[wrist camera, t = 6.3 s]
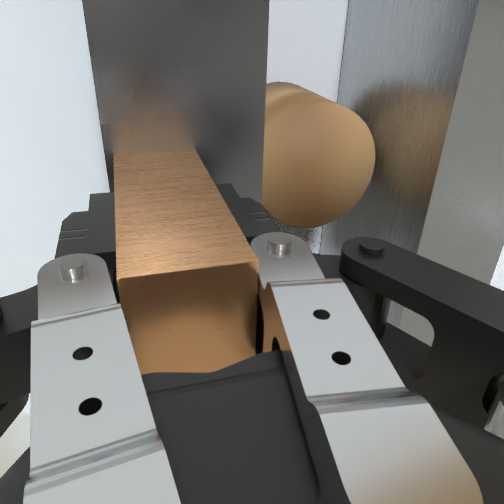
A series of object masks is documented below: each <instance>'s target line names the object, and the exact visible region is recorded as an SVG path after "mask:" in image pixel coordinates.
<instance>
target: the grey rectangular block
mask: <svg viewBox="0 0 504 504" xmlns="http://www.w3.org/2000/svg"><path fill="white" fill-rule="evenodd" d="M337 104H339V105H341V106H343V107H346V108H348V109H350V110H351V111H353V112H355V113H356V114H357V115H358V116H360V117H361V119H362V120H363V121H364V122H365V123H366V125H367V126H368V128H369V130H370V132H371V134H372V137H373V141H374V146H375V166H374V170H373V174H372V177H371V180H370V183H369V185H368V187H367V189H366V190H365V192H364V194H363V195H362V197H361V198H360V199H359V201H358V202H357V203H356V204H355V205H354V206H353V207H352V208H351V209H350V210H349V211H348V212H347V213H345V214H344V215H343V216H341V217H340V218H338V219H336V220H334V221H333V222H330V223H328V224H325V225H323V230H322V238H321V247H320V254H325V255H341V250H342V245H343V243H344V242H345V241H347V240H349V239H351V238H356V237H372V238H377V239H381V240H384V241H387V242H389V243H392V244H394V245H396V246H399V247H401V248H404V249H406V250H408V251H411V252H413V253H415V254H418V255H420V256H422V257H425V258H427V259H429V260H432V261H434V262H437V263H439V264H441V265H444V266H446V267H448V268H451V269H453V270H455V271H458V272H460V273H462V274H465V275H467V276H470V277H472V278H474V279H477V280H479V281H481V282H484V283H486V284H488V285H489V284H490V282H491V279H492V276H493V273H494V270H495V267H496V265H497V262H498V259H499V256H500V253H501V250H502V248H503V245H504V0H349V6H348V15H347V23H346V32H345V41H344V49H343V58H342V66H341V75H340V84H339V92H338V101H337ZM387 322H388V323H390V324H392V325H393V326H395V327H397V328H399V329H401V330H402V331H404V332H406V333H408V334H409V335H411V336H413V337H415V338H417V339H418V340H420V341H422V342H424V343H426V344H427V345H429V346H432V343H433V339H434V330H433V327H432V325H431V324H430V322H429V321H428V320H427V319H426V318H424V317H423V316H421V315H419V314H417V313H415V312H414V311H412V310H410V309H408V308H406V307H404V306H402V305H400V304H398V303H396V302H394V301H392V300H391V305H390V309H389V314H388V318H387Z"/></svg>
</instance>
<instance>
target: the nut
mask: <svg viewBox="0 0 504 504" xmlns="http://www.w3.org/2000/svg"><path fill="white" fill-rule="evenodd" d="M374 166H375V146H374V141H373V137H372V134H371V132H370V130H369V128H368V126H367V125H366V123H365V122H364V121H363V120H362V119H361V117H360V116H358V115H357V114H356V113H355V112H353V111H351V110H350V109H348V108H346V107H343V106H341V105H339V104H337V103H335V102H333V101H330V100H328V99H326V98H324V97H322V96H320V95H317V94H315V93H313V92H311V91H309V90H306V89H304V88H302V87H300V86H298V85H295V84H292V83H287V82H273V83H268V84H266V100H265V127H264V153H263V179H262V205H263V206H264V207H265V209H266V210H267V211H268V212H269V213H270V214H271V215H272V216H273V217H274V218H275V219H277V220H278V221H280V222H282V223H284V224H286V225H289V226H292V227H297V228H313V227H319V226H322V225H325V224H328V223H330V222H333V221H334V220H336V219H338V218H340V217H341V216H343V215H344V214H345V213H347V212H348V211H349V210H350V209H351V208H352V207H353V206H354V205H355V204H356V203H357V202H358V201H359V199H360V198H361V197H362V195H363V194H364V192H365V190H366V189H367V187H368V185H369V183H370V180H371V177H372V174H373V170H374Z"/></svg>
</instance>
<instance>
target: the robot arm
mask: <svg viewBox="0 0 504 504" xmlns="http://www.w3.org/2000/svg"><path fill="white" fill-rule="evenodd" d="M215 185H216V187H217V189H218V190H219V192H220V194H221V196H222V197H223V199H224V201H225V203H226V204H227V206H228V208H229V210H230V211H231V213H232V215H233V217H234V219H235V220H236V222H237V224H238V226H239V227H240V229H241V231H242V233H243V234H244V236H245V238H246V240H247V241H248V243H249V245H250V247H251V248H252V250H253V252H254V254H255V255H256V257H257V259H258V261H259V269H258V296H257V323H256V350H255V356H252V357H250V358H247V359H245V360H243V361H240V362H238V363H235V364H233V365H230V366H228V367H225V368H223V369H220V370H218V371H215V372H209V373H186V372H153V373H148V374H142V375H141V374H140V370H139V367H138V363H137V360H136V356H135V353H134V349H133V346H132V343H131V339H130V336H129V332H128V329H127V325H126V322H125V318H124V315H123V311H122V308H121V303H120V297H119V290H118V284H117V270H116V231H115V193H114V192H109V193H97V194H90V201H89V211H84V212H73V213H71V214H70V215H69V216H68V217H67V218H66V219H64V220H63V221H62V226H61V232H60V235H59V240H58V245H57V250H56V255H55V259H54V260H51V261H49V262H48V263H46V264H45V265H44V266H42V267H41V269H40V270H39V272H38V275H37V280H38V284H37V285H36V286H34V287H32V288H29V289H27V290H24V291H21V292H18V293H15V294H11V295H8V296H5V297H1V298H0V437H1V436H2V435H3V434H4V432H5V431H6V430H7V428H8V427H9V426H10V425H11V423H12V422H13V421H14V419H15V418H16V417H17V416H18V415H19V413H20V412H21V411H22V410H23V408H24V407H25V405H26V403H27V401H28V397H29V393H31V409H30V421H31V422H30V427H31V428H30V447H29V448H28V449H27V450H26V451H25V452H24V453H23V454H22V456H21V457H20V458H19V459H18V460H17V461H16V462H15V463H14V464H13V465H12V466H11V467H10V468H9V470H8V471H7V472H6V473H5V474H4V475H3V476H2V477H1V478H0V504H504V291H502V290H500V289H498V288H495V287H493V286H491V285H488V284H486V283H484V282H481V281H479V280H477V279H474V278H472V277H470V276H467V275H465V274H462V273H460V272H458V271H455V270H453V269H451V268H448V267H446V266H444V265H441V264H439V263H437V262H434V261H432V260H429V259H427V258H425V257H422V256H420V255H418V254H415V253H413V252H411V251H408V250H406V249H404V248H401V247H399V246H396V245H394V244H392V243H389V242H387V241H384V240H381V239H377V238H372V237H356V238H351V239H349V240H347V241H345V242H344V243H343V245H342V250H341V255H325V254H315V253H312V252H311V250H310V248H309V246H308V244H307V243H306V241H304V240H303V239H302V238H300V237H298V236H296V235H293V234H289V233H283V232H281V230H280V229H279V228H278V226H277V225H276V224H275V222H274V221H273V220H272V219H271V217H270V215H269V214H268V213H266V210H265V209H264V207H263V206H262V205H261V203H259V202H257V201H255V200H253V199H251V198H249V197H246V198H240V197H239V195H238V194H237V192H236V191H235V189H234V188H233V186H232V184H231V183H226V184H215ZM391 300H392V301H394V302H396V303H398V304H400V305H402V306H404V307H406V308H408V309H410V310H412V311H414V312H415V313H417V314H419V315H421V316H423V317H424V318H426V319H427V320H428V321H429V322H430V324H431V325H432V327H433V330H434V339H433V343H432V346H429V345H427V344H426V343H424V342H422V341H420V340H418V339H417V338H415V337H413V336H411V335H409V334H408V333H406V332H404V331H402V330H401V329H399V328H397V327H395V326H393V325H392V324H390V323H388V322H387V318H388V314H389V309H390V305H391Z"/></svg>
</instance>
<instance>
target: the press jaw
mask: <svg viewBox="0 0 504 504" xmlns="http://www.w3.org/2000/svg"><path fill="white" fill-rule="evenodd" d="M82 3H83V9H84V16H85V23H86V30H87V37H88V44H89V51H90V57H91V64H92V71H93V78H94V85H95V92H96V98H97V105H98V112H99V119H100V126H101V133H102V139H103V146H104V153H105V160H106V167H107V174H108V180H109V187H110V192H114V193H115V231H116V270H117V284H118V290H119V297H120V303H121V308H122V311H123V315H124V318H125V322H126V325H127V329H128V332H129V336H130V339H131V343H132V346H133V349H134V353H135V356H136V360H137V363H138V367H139V370H140V374H141V375H142V374H148V373H153V372H186V373H209V372H215V371H218V370H220V369H223V368H225V367H228V366H230V365H233V364H235V363H238V362H240V361H243V360H245V359H247V358H250V357H252V356H255V350H256V323H257V296H258V269H259V261H258V259H257V257H256V255H255V254H254V252H253V250H252V248H251V247H250V245H249V243H248V241H247V240H246V238H245V236H244V234H243V233H242V231H241V229H240V227H239V226H238V224H237V222H236V220H235V219H234V217H233V215H232V213H231V211H230V210H229V208H228V206H227V204H226V203H225V201H224V199H223V197H222V196H221V194H220V192H219V190H218V189H217V187H216V185H215V184H226V183H231V184H232V186H233V188H234V189H235V191H236V192H237V194H238V195H239V197H240V198H246V197H249V198H251V199H253V200H255V201H257V202H259V203H261V205H262V179H263V153H264V127H265V100H266V74H267V47H268V21H269V0H82Z"/></svg>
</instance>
